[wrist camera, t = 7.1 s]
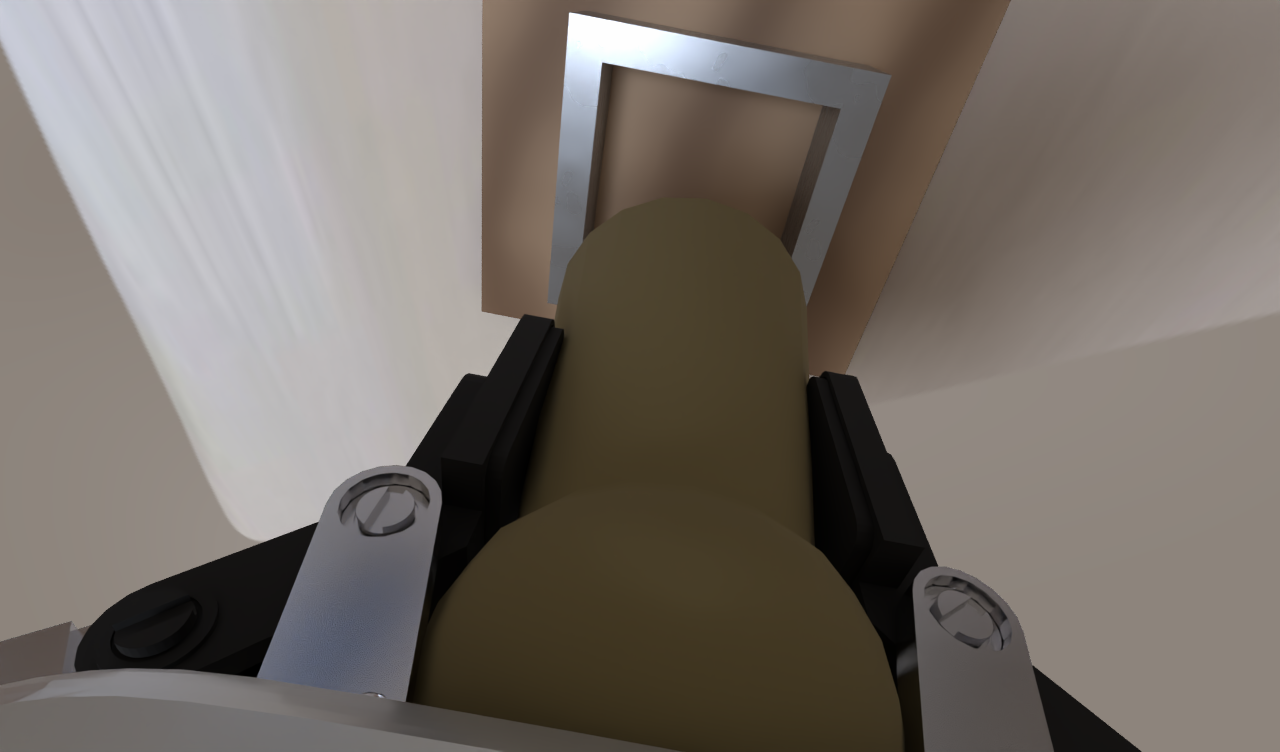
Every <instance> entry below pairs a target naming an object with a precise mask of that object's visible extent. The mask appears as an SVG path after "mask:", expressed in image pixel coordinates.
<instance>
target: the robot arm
mask: <svg viewBox="0 0 1280 752" xmlns="http://www.w3.org/2000/svg"><path fill="white" fill-rule="evenodd" d="M563 339H564V329H561V328H556V327H555V321H554V319H549V318H544V317H539V316H534V315H528V314H524V315H523V316H522V318H521V319H520V321H519V323H518V325H517V326H516V328H515V330H514V332H513V333H512V335H511V337H510V338H509V340H508V342H507V344H506V345H505V347H504V349H503V351H502V352H501V354H500V356H499V357H498V359H497V361H496V363H495V364H494V366H493V368H492V369H491V371H490V373H489V375H488V376H487V377H486V376H480V375H475V374H470V373H469V374H466V375H465V376H464V377H463V378H462V380H461V381H460V383H459V384H458V386H457V387H456V389H455V390H454V392H453V393H452V395H451V397H450V398H449V400H448V401H447V403H446V404H445V406H444V407H443V409H442V411H441V412H440V414H439V415H438V417H437V418H436V420H435V421H434V423H433V425H432V426H431V428H430V429H429V431H428V432H427V434H426V435H425V437H424V439H423V440H422V442H421V443H420V445H419V446H418V448H417V449H416V451H415V452H414V454H413V456H412V457H411V459H410V460H409V462H408V463H407V465H406V466H399V465H392V466H380V467H376V468H372V469H369V470H365V471H362V472H360V473H358V474H356V475H354V476H352V477H351V478H349V479H347V480H346V481H344V482H343V483H342V484H341V485H340V486H339V487H337V488H336V489H335V490H334V491H333V493H332V495H331V496H330V498H329V499H328V501H327V503H326V505H325V508H324V510H323V513H322V515H321V518H320V520H319V522H317V523H314V524H311V525H309V526H306V527H303V528H301V529H298V530H295V531H293V532H290V533H287V534H285V535H282V536H279V537H276V538H274V539H271V540H268V541H266V542H263V543H260V544H258V545H255V546H252V547H250V548H247V549H244V550H242V551H239V552H236V553H233V554H231V555H228V556H225V557H223V558H220V559H217V560H215V561H212V562H209V563H207V564H204V565H201V566H199V567H196V568H193V569H190V570H188V571H185V572H182V573H180V574H177V575H174V576H172V577H169V578H166V579H164V580H161V581H158V582H155V583H153V584H150V585H148V586H146V587H144V588H142V589H140V590H138V591H135V592H133V593H131V594H129V595H127V596H126V597H125V598H123V599H122V600H120V601H119V602H117V603H116V604H114V605H113V606H112V607H110V608H109V609H107V610H106V611H105V612H104V613H103V614H102V615H101V616H100V617H99V618H98V619H97V620H96V621H95V622H94V623H93V624H92V625H90V626H86V627H83V628H80V629H77V628H76V627H75V625H74V624H73V622H72V621H70V622H67V623H63V624H59V625H56V626H53V627H49V628H46V629H42V630H39V631H35V632H32V633H29V634H25V635H21V636H18V637H15V638H11V639H8V640H4V641H1V642H0V752H682V751H676V750H671V749H665V748H660V747H654V746H649V745H643V744H638V743H632V742H627V741H621V740H616V739H610V738H605V737H599V736H594V735H588V734H583V733H577V732H572V731H566V730H560V729H555V728H549V727H543V726H538V725H532V724H527V723H521V722H515V721H510V720H504V719H498V718H493V717H487V716H481V715H476V714H470V713H465V712H459V711H453V710H448V709H442V708H436V707H431V706H425V705H419V704H414V703H413V698H414V692H415V686H416V680H417V674H418V668H419V662H420V656H421V650H422V645H423V641H424V638H425V634H426V630H427V625H428V623H429V621H430V618H431V616H432V614H433V612H434V610H435V608H436V605H437V603H438V602H439V600H440V599H441V598H442V597H443V595H444V594H445V593H446V592H447V590H448V589H449V588H450V587H451V585H452V584H453V583H454V582H455V580H456V579H457V578H458V577H459V575H460V574H461V573H462V571H463V570H464V569H465V568H466V566H467V565H468V564H469V563H470V561H471V560H472V559H473V558H474V557H475V556H476V555H477V554H478V553H479V551H480V550H481V549H482V548H483V547H484V546H485V545H486V544H487V543H488V542H489V540H490V539H491V538H492V537H493V536H494V535H495V534H496V533H497V532H498V530H499V529H500V528H502V527H504V526H506V525H508V524H510V523H512V522H514V521H516V520H517V516H518V511H519V505H520V500H521V495H522V490H523V484H524V480H525V476H526V472H527V467H528V463H529V459H530V454H531V450H532V446H533V442H534V437H535V433H536V429H537V424H538V420H539V416H540V412H541V409H542V406H543V403H544V400H545V397H546V393H547V390H548V387H549V384H550V381H551V377H552V374H553V371H554V368H555V365H556V361H557V358H558V355H559V352H560V349H561V346H562V342H563ZM807 399H808V412H809V426H810V439H811V453H812V475H813V504H814V533H815V547H816V548H817V549H818V550H820V551H821V552H822V553H823V554H824V555H825V556H826V558H827V559H828V560H829V562H830V563H831V564H832V565H833V567H834V568H835V569H836V570H837V572H838V573H839V574H840V576H841V577H842V578H843V579H844V581H845V582H846V583H847V584H848V586H849V587H850V588H851V590H852V591H853V592H854V594H855V595H856V597H857V599H858V601H859V602H860V604H861V606H862V607H863V609H864V611H865V613H866V614H867V616H868V618H869V620H870V621H871V623H872V625H873V627H874V628H875V630H876V632H877V633H878V635H879V637H880V639H881V640H882V643H883V647H884V650H885V654H886V657H887V660H888V664H889V667H890V670H891V674H892V677H893V681H894V684H895V687H896V691H897V694H898V698H899V702H900V708H901V715H902V721H903V728H904V736H905V752H1141V751H1140V750H1139V749H1138V748H1136V747H1135V746H1134V745H1133V744H1131V743H1130V742H1129V741H1128V740H1126V739H1125V738H1124V737H1123V736H1121V735H1120V734H1119V733H1117V732H1116V731H1115V730H1114V729H1112V728H1111V727H1110V726H1108V725H1107V724H1106V723H1105V722H1104V721H1102V720H1101V719H1100V718H1099V717H1097V716H1096V715H1095V714H1093V713H1092V712H1091V711H1090V710H1088V709H1087V708H1086V707H1085V706H1083V705H1082V704H1081V703H1079V702H1078V701H1077V700H1076V699H1074V698H1073V697H1072V696H1071V695H1069V694H1068V693H1067V692H1066V691H1064V690H1063V689H1062V688H1061V687H1059V686H1058V685H1057V684H1055V683H1054V682H1053V681H1052V680H1050V679H1049V678H1048V677H1047V676H1045V675H1044V674H1043V673H1042V672H1040V671H1039V670H1038V669H1037V668H1035V667H1034V666H1032V663H1031V659H1030V656H1029V652H1028V648H1027V644H1026V640H1025V636H1024V632H1023V630H1022V628H1021V625H1020V623H1019V620H1018V618H1017V616H1016V615H1015V614H1014V612H1013V611H1012V610H1011V608H1010V607H1009V605H1008V604H1007V603H1006V602H1005V601H1004V600H1003V599H1002V598H1001V597H1000V596H999V595H998V594H997V593H996V592H995V591H994V590H993V589H992V588H990V587H989V586H987V585H986V584H984V583H983V582H981V581H980V580H978V579H977V578H975V577H973V576H971V575H969V574H967V573H965V572H962V571H960V570H956V569H952V568H949V567H938V564H937V562H936V560H935V557H934V555H933V552H932V550H931V547H930V545H929V542H928V540H927V538H926V535H925V533H924V531H923V528H922V526H921V523H920V521H919V518H918V516H917V513H916V511H915V509H914V506H913V504H912V501H911V499H910V496H909V494H908V491H907V489H906V487H905V484H904V482H903V480H902V477H901V474H900V472H899V470H898V467H897V465H896V462H895V460H894V459H893V457H892V455H891V454H889V453H887V451H886V449H885V446H884V444H883V441H882V439H881V436H880V434H879V431H878V429H877V426H876V424H875V421H874V419H873V416H872V414H871V411H870V409H869V406H868V404H867V401H866V399H865V396H864V394H863V391H862V389H861V386H860V384H859V381H858V379H857V378H856V377H854V376H850V375H845V374H839V373H834V372H829V371H824V372H823V373H822V374H821V375H820V377H814V376H813V377H811V378H810V379H809V381H808V384H807Z"/></svg>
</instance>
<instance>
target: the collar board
mask: <svg viewBox="0 0 1280 752" xmlns="http://www.w3.org/2000/svg"><path fill="white" fill-rule="evenodd" d="M1010 1H1011V0H483V16H482V312H487V313H493V314H498V315H503V316H508V317H513V318H519V319H521V318H522V316H523V315H524V314H528V315H534V316H539V317H544V318H549V319H555V314H556V309H557V305H555V304H550V303H547V300H548V287H549V274H550V261H551V248H552V234H553V221H554V208H555V195H556V182H557V169H558V155H559V142H560V129H561V116H562V103H563V90H564V76H565V63H566V50H567V37H568V24H569V12H577V11H585V10H587V11H592V12H598V13H603V14H608V15H613V16H618V17H623V18H628V19H633V20H639V21H644V22H649V23H654V24H659V25H664V26H669V27H674V28H680V29H685V30H690V31H695V32H700V33H705V34H710V35H715V36H720V37H726V38H731V39H736V40H741V41H746V42H751V43H756V44H761V45H767V46H772V47H777V48H782V49H787V50H792V51H797V52H802V53H808V54H813V55H818V56H823V57H828V58H833V59H838V60H843V61H849V62H854V63H859V64H864V65H869V66H872V67H874V68H876V69H878V70H881V71H883V72H885V73H887V74H890V75H892V76H891V78H890V81H889V84H888V87H887V89H886V92H885V95H884V97H883V100H882V103H881V106H880V108H879V111H878V114H877V116H876V119H875V122H874V125H873V127H872V130H871V133H870V136H869V138H868V141H867V144H866V146H865V149H864V152H863V155H862V157H861V160H860V163H859V165H858V168H857V171H856V174H855V176H854V179H853V182H852V185H851V187H850V190H849V193H848V195H847V198H846V201H845V204H844V206H843V209H842V212H841V214H840V217H839V220H838V223H837V225H836V228H835V231H834V234H833V236H832V239H831V242H830V244H829V247H828V250H827V253H826V255H825V258H824V261H823V263H822V266H821V269H820V272H819V274H818V277H817V280H816V283H815V285H814V288H813V291H812V293H811V296H810V299H809V302H808V304H807V330H808V359H809V374H810V375H815V376H820V375H821V374H822V373H823V372H824V371H829V372H834V373H839V374H845V373H846V370H847V368H848V366H849V364H850V361H851V359H852V357H853V355H854V352H855V350H856V348H857V346H858V343H859V341H860V339H861V337H862V334H863V332H864V330H865V328H866V325H867V323H868V321H869V319H870V316H871V314H872V312H873V310H874V307H875V305H876V303H877V301H878V298H879V296H880V294H881V292H882V289H883V287H884V285H885V283H886V280H887V278H888V276H889V274H890V271H891V269H892V267H893V265H894V262H895V260H896V258H897V256H898V253H899V251H900V249H901V247H902V244H903V242H904V240H905V238H906V235H907V233H908V231H909V229H910V226H911V224H912V222H913V220H914V217H915V215H916V213H917V211H918V208H919V206H920V204H921V202H922V199H923V197H924V195H925V193H926V190H927V188H928V186H929V184H930V181H931V179H932V177H933V175H934V172H935V170H936V168H937V166H938V163H939V161H940V159H941V157H942V154H943V152H944V150H945V148H946V145H947V143H948V141H949V139H950V136H951V134H952V132H953V129H954V127H955V125H956V123H957V120H958V118H959V116H960V114H961V111H962V109H963V107H964V105H965V102H966V100H967V98H968V96H969V93H970V91H971V89H972V87H973V84H974V82H975V80H976V78H977V75H978V73H979V71H980V69H981V66H982V64H983V62H984V60H985V57H986V55H987V53H988V51H989V48H990V46H991V44H992V42H993V39H994V37H995V35H996V33H997V30H998V28H999V26H1000V24H1001V21H1002V19H1003V17H1004V15H1005V12H1006V10H1007V8H1008V6H1009V3H1010ZM822 106H823V105H819V104H814V103H808V102H803V101H798V100H793V99H788V98H783V97H778V96H773V95H767V94H762V93H757V92H752V91H747V90H742V89H737V88H731V87H726V86H721V85H716V84H711V83H706V82H701V81H696V80H690V79H685V78H680V77H675V76H670V75H665V74H660V73H654V72H649V71H644V70H639V69H634V68H629V67H624V66H619V65H613V73H612V82H611V90H610V99H609V107H608V115H607V124H606V132H605V141H604V149H603V158H602V166H601V175H600V183H599V191H598V200H597V208H596V217H595V225H594V229H596V228H597V227H599V226H600V225H601V224H603V223H604V222H606V221H607V220H608V219H610V218H611V217H613V216H614V215H615V214H617V213H618V212H620V211H621V210H623V209H626V208H630V207H633V206H636V205H640V204H643V203H646V202H650V201H653V200H656V199H660V198H663V197H665V198H702V199H709V200H712V201H715V202H718V203H720V204H723V205H726V206H729V207H732V208H734V209H737V210H740V211H743V212H745V213H748V214H749V215H750V216H752V217H753V218H754V219H755V220H757V221H758V222H759V223H760V224H762V225H763V226H764V227H765V228H767V229H768V230H769V231H770V232H772V233H773V234H774V235H775V236H777V237H778V238H779V239H781V236H782V233H783V230H784V227H785V223H786V220H787V217H788V214H789V211H790V208H791V204H792V201H793V198H794V195H795V192H796V188H797V185H798V182H799V179H800V176H801V173H802V169H803V166H804V163H805V160H806V157H807V153H808V150H809V147H810V144H811V141H812V138H813V134H814V131H815V128H816V125H817V122H818V119H819V115H820V112H821V109H822Z"/></svg>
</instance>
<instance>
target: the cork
mask: <svg viewBox="0 0 1280 752" xmlns="http://www.w3.org/2000/svg"><path fill="white" fill-rule="evenodd" d="M554 321H555V327H556V328H561V329H564V339H563V342H562V346H561V349H560V352H559V355H558V358H557V361H556V365H555V368H554V371H553V374H552V377H551V381H550V384H549V387H548V390H547V393H546V397H545V400H544V403H543V406H542V409H541V412H540V416H539V420H538V424H537V429H536V433H535V437H534V442H533V446H532V450H531V454H530V459H529V463H528V467H527V472H526V476H525V480H524V484H523V490H522V495H521V500H520V505H519V511H518V516H517V520H516V521H514V522H512V523H510V524H508V525H506V526H504V527H502V528H500V529H499V530H498V532H497V533H496V534H495V535H494V536H493V537H492V538H491V539H490V540H489V542H488V543H487V544H486V545H485V546H484V547H483V548H482V549H481V550H480V551H479V553H478V554H477V555H476V556H475V557H474V558H473V559H472V560H471V561H470V563H469V564H468V565H467V566H466V568H465V569H464V570H463V571H462V573H461V574H460V575H459V577H458V578H457V579H456V580H455V582H454V583H453V584H452V585H451V587H450V588H449V589H448V590H447V592H446V593H445V594H444V595H443V597H442V598H441V599H440V600H439V602H438V603H437V605H436V608H435V610H434V612H433V614H432V616H431V618H430V621H429V623H428V625H427V630H426V634H425V638H424V641H423V645H422V650H421V656H420V662H419V668H418V674H417V680H416V686H415V692H414V698H413V703H414V704H419V705H425V706H431V707H436V708H442V709H448V710H453V711H459V712H465V713H470V714H476V715H481V716H487V717H493V718H498V719H504V720H510V721H515V722H521V723H527V724H532V725H538V726H543V727H549V728H555V729H560V730H566V731H572V732H577V733H583V734H588V735H594V736H599V737H605V738H610V739H616V740H621V741H627V742H632V743H638V744H643V745H649V746H654V747H660V748H665V749H671V750H676V751H682V752H905V736H904V728H903V721H902V715H901V708H900V702H899V698H898V694H897V691H896V687H895V684H894V681H893V677H892V674H891V670H890V667H889V664H888V660H887V657H886V654H885V650H884V647H883V643H882V640H881V639H880V637H879V635H878V633H877V632H876V630H875V628H874V627H873V625H872V623H871V621H870V620H869V618H868V616H867V614H866V613H865V611H864V609H863V607H862V606H861V604H860V602H859V601H858V599H857V597H856V595H855V594H854V592H853V591H852V590H851V588H850V587H849V586H848V584H847V583H846V582H845V581H844V579H843V578H842V577H841V576H840V574H839V573H838V572H837V570H836V569H835V568H834V567H833V565H832V564H831V563H830V562H829V560H828V559H827V558H826V556H825V555H824V554H823V553H822V552H821V551H820V550H818V549H817V548H816V547H815V533H814V504H813V475H812V453H811V439H810V426H809V412H808V399H807V384H808V381H809V359H808V330H807V307H806V302H805V296H804V291H803V285H802V280H801V275H800V271H799V270H798V268H797V266H796V265H795V263H794V262H793V260H792V258H791V257H790V255H789V253H788V252H787V250H786V248H785V247H784V245H783V243H782V242H781V240H780V239H779V238H778V237H777V236H775V235H774V234H773V233H772V232H770V231H769V230H768V229H767V228H765V227H764V226H763V225H762V224H760V223H759V222H758V221H757V220H755V219H754V218H753V217H752V216H750V215H749V214H748V213H745V212H743V211H740V210H737V209H734V208H732V207H729V206H726V205H723V204H720V203H718V202H715V201H712V200H709V199H702V198H665V197H663V198H660V199H656V200H653V201H650V202H646V203H643V204H640V205H636V206H633V207H630V208H626V209H623V210H621V211H620V212H618V213H617V214H615V215H614V216H613V217H611V218H610V219H608V220H607V221H606V222H604V223H603V224H601V225H600V226H599V227H597V228H596V229H594V230H593V231H591V232H590V233H589V234H588V236H587V237H586V239H585V240H584V241H583V243H582V244H581V246H580V247H579V248H578V250H577V251H576V253H575V254H574V256H573V257H572V258H571V260H570V261H569V263H568V265H567V268H566V272H565V276H564V279H563V283H562V287H561V291H560V294H559V298H558V303H557V309H556V314H555V319H554Z"/></svg>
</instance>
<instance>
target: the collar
mask: <svg viewBox="0 0 1280 752" xmlns="http://www.w3.org/2000/svg"><path fill="white" fill-rule="evenodd" d="M613 65H619V66H624V67H629V68H634V69H639V70H644V71H649V72H654V73H660V74H665V75H670V76H675V77H680V78H685V79H690V80H696V81H701V82H706V83H711V84H716V85H721V86H726V87H731V88H737V89H742V90H747V91H752V92H757V93H762V94H767V95H773V96H778V97H783V98H788V99H793V100H798V101H803V102H808V103H814V104H819V105H823V106H822V109H821V112H820V115H819V119H818V122H817V125H816V128H815V131H814V134H813V138H812V141H811V144H810V147H809V150H808V153H807V157H806V160H805V163H804V166H803V169H802V173H801V176H800V179H799V182H798V185H797V188H796V192H795V195H794V198H793V201H792V204H791V208H790V211H789V214H788V217H787V220H786V223H785V227H784V230H783V233H782V236H781V239H780V240H781V242H782V243H783V245H784V247H785V248H786V250H787V252H788V253H789V255H790V257H791V258H792V260H793V262H794V263H795V265H796V266H797V268H798V270H799V271H800V275H801V280H802V285H803V291H804V296H805V302H806V307H807V304H808V302H809V299H810V296H811V293H812V291H813V288H814V285H815V283H816V280H817V277H818V274H819V272H820V269H821V266H822V263H823V261H824V258H825V255H826V253H827V250H828V247H829V244H830V242H831V239H832V236H833V234H834V231H835V228H836V225H837V223H838V220H839V217H840V214H841V212H842V209H843V206H844V204H845V201H846V198H847V195H848V193H849V190H850V187H851V185H852V182H853V179H854V176H855V174H856V171H857V168H858V165H859V163H860V160H861V157H862V155H863V152H864V149H865V146H866V144H867V141H868V138H869V136H870V133H871V130H872V127H873V125H874V122H875V119H876V116H877V114H878V111H879V108H880V106H881V103H882V100H883V97H884V95H885V92H886V89H887V87H888V84H889V81H890V78H891V76H892V75H890V74H887V73H885V72H883V71H881V70H878V69H876V68H874V67H872V66H869V65H864V64H859V63H854V62H849V61H843V60H838V59H833V58H828V57H823V56H818V55H813V54H808V53H802V52H797V51H792V50H787V49H782V48H777V47H772V46H767V45H761V44H756V43H751V42H746V41H741V40H736V39H731V38H726V37H720V36H715V35H710V34H705V33H700V32H695V31H690V30H685V29H680V28H674V27H669V26H664V25H659V24H654V23H649V22H644V21H639V20H633V19H628V18H623V17H618V16H613V15H608V14H603V13H598V12H592V11H587V10H585V11H577V12H569V24H568V37H567V50H566V63H565V76H564V90H563V103H562V116H561V129H560V142H559V155H558V169H557V182H556V195H555V208H554V221H553V234H552V248H551V261H550V274H549V287H548V300H547V303H550V304H555V305H557V303H558V298H559V294H560V291H561V287H562V283H563V279H564V276H565V272H566V268H567V265H568V263H569V261H570V260H571V258H572V257H573V256H574V254H575V253H576V251H577V250H578V248H579V247H580V246H581V244H582V243H583V241H584V240H585V239H586V237H587V236H588V234H589V233H590V232H591V231H593V230H594V225H595V217H596V208H597V200H598V191H599V183H600V175H601V166H602V158H603V149H604V141H605V132H606V124H607V115H608V107H609V99H610V90H611V82H612V73H613Z"/></svg>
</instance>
